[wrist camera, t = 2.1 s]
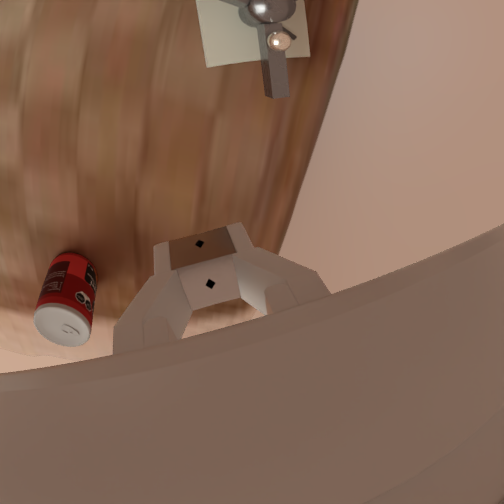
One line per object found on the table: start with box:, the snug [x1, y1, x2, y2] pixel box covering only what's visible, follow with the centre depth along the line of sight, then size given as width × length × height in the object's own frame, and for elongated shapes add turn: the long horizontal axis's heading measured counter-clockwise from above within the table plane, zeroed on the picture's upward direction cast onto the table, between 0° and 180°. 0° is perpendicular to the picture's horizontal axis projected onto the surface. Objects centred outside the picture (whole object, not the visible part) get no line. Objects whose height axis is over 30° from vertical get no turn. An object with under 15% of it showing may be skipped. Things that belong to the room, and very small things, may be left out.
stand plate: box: [196, 0, 310, 67], centre depth 25 cm, size 12×12×2 cm
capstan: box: [219, 0, 297, 99], centre depth 23 cm, size 16×18×7 cm
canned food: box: [34, 253, 98, 347], centre depth 34 cm, size 8×8×11 cm
